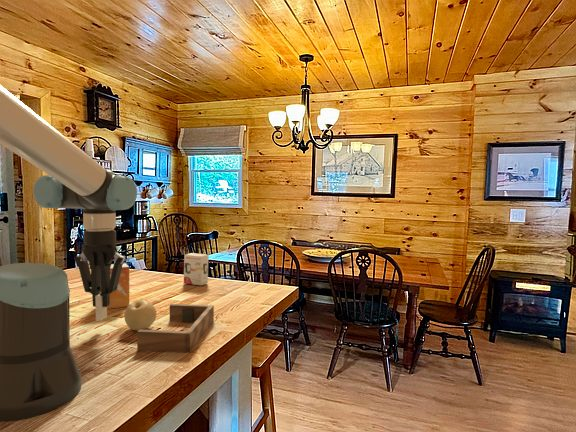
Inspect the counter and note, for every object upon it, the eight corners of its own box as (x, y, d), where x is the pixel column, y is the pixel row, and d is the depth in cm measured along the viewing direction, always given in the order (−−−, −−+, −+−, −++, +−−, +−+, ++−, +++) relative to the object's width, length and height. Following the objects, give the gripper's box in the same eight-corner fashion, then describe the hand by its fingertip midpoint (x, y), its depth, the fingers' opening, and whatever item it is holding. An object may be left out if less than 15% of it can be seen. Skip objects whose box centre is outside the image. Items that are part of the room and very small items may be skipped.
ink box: (183, 283, 148) (183, 254, 147) (190, 281, 153) (190, 252, 152) (201, 286, 145) (201, 256, 144) (208, 283, 150) (208, 254, 149)
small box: (102, 310, 114) (101, 268, 113) (99, 305, 119) (98, 265, 119) (130, 306, 119) (129, 266, 118) (126, 301, 124) (125, 262, 123)
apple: (125, 325, 102) (125, 298, 101) (156, 322, 105) (156, 295, 104) (123, 336, 94) (123, 306, 94) (156, 332, 97) (156, 303, 97)
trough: (190, 352, 86) (189, 333, 85) (137, 350, 86) (137, 331, 86) (213, 320, 107) (213, 305, 106) (171, 319, 107) (171, 303, 107)
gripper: (131, 228, 99) (132, 314, 101) (84, 227, 100) (85, 313, 102) (117, 231, 92) (118, 324, 93) (66, 230, 92) (68, 322, 94)
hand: (101, 318), depth 97 cm, fingers closed
